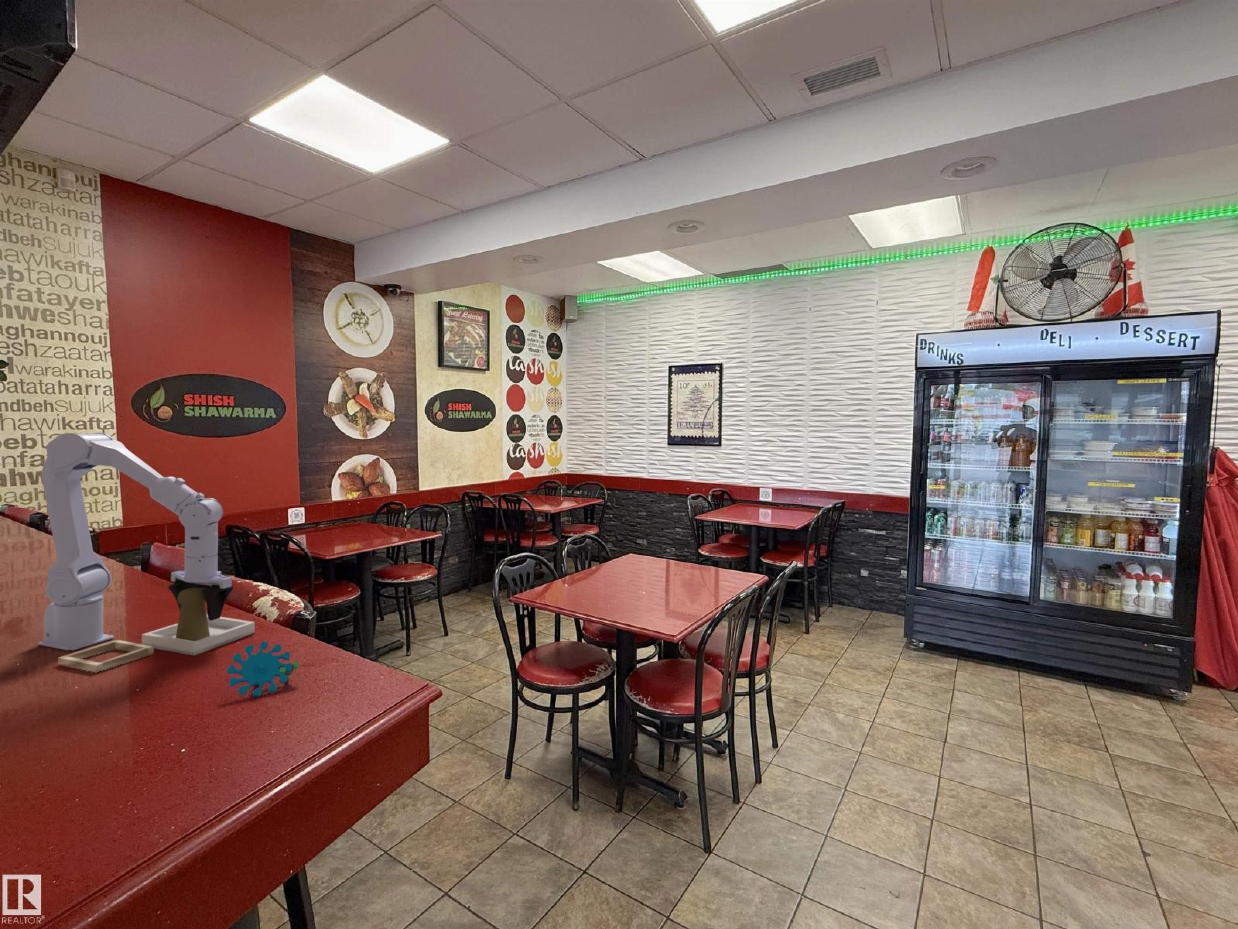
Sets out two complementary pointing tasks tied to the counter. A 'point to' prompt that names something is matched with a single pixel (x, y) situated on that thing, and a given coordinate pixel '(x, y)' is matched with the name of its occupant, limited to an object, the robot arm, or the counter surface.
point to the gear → (261, 669)
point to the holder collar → (134, 654)
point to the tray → (219, 632)
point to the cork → (192, 615)
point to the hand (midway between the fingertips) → (200, 616)
